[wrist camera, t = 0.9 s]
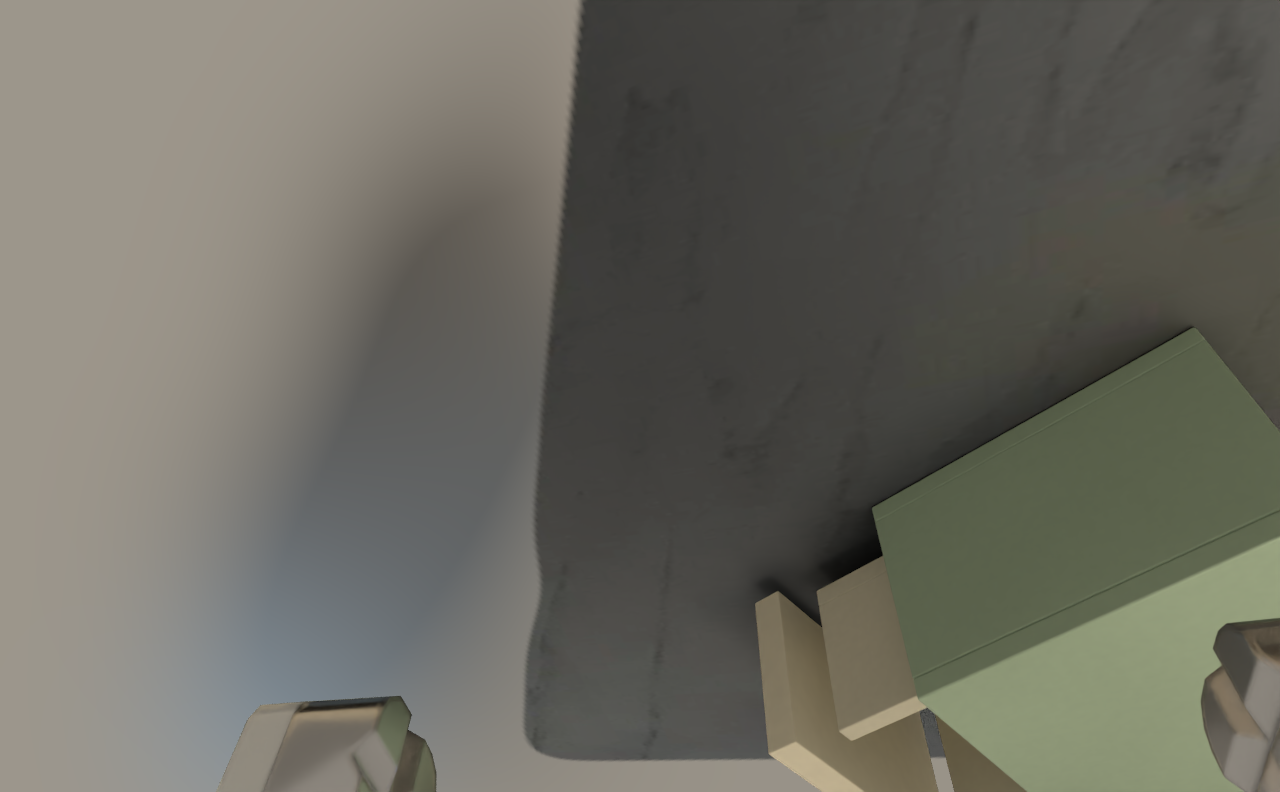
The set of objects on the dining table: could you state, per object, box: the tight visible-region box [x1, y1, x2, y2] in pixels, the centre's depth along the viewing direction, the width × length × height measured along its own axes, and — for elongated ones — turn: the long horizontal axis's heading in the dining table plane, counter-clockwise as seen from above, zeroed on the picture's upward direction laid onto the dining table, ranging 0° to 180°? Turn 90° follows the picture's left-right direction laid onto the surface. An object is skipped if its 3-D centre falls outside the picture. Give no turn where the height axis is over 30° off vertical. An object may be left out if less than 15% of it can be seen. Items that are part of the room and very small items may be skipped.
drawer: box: [755, 556, 1027, 792], centre depth 36 cm, size 13×10×7 cm
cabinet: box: [872, 328, 1280, 792], centre depth 33 cm, size 13×12×9 cm
